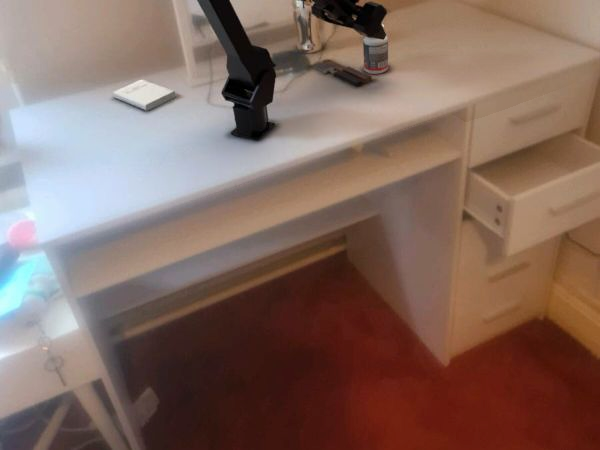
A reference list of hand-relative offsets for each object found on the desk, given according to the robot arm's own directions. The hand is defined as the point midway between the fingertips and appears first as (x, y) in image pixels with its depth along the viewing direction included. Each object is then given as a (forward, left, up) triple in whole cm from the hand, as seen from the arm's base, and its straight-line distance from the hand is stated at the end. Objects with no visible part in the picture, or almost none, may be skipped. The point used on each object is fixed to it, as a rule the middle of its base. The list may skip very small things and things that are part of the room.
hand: (370, 32), depth 128 cm
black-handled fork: (-4, +6, -9) cm, 12 cm away
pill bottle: (+1, -1, -9) cm, 9 cm away
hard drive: (-28, +42, -9) cm, 52 cm away
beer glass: (+8, +20, -9) cm, 23 cm away
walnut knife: (-2, +5, -9) cm, 11 cm away
